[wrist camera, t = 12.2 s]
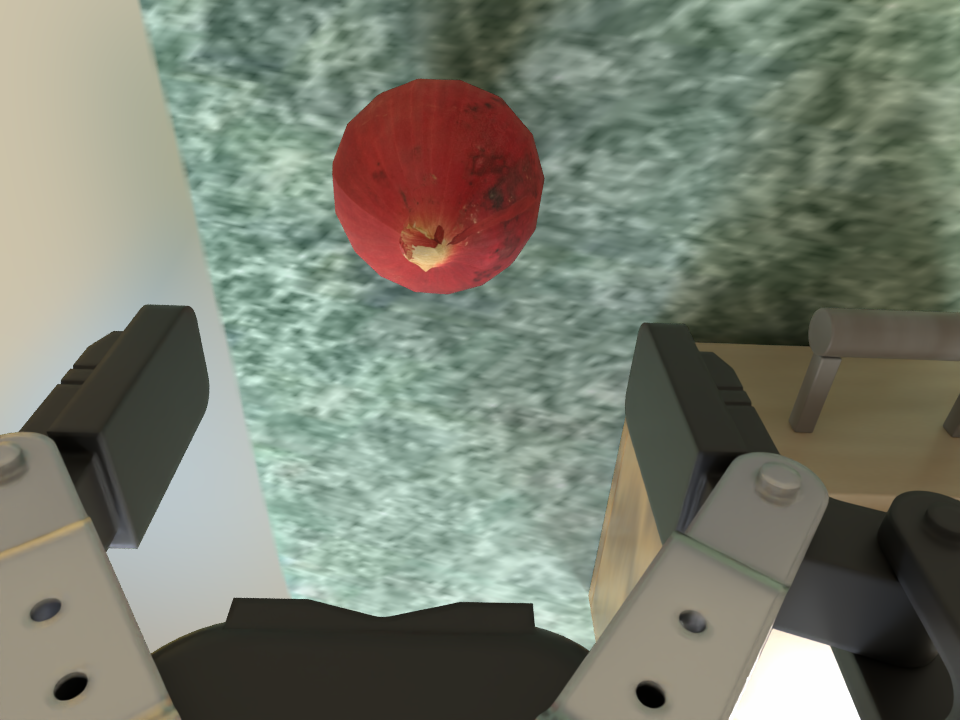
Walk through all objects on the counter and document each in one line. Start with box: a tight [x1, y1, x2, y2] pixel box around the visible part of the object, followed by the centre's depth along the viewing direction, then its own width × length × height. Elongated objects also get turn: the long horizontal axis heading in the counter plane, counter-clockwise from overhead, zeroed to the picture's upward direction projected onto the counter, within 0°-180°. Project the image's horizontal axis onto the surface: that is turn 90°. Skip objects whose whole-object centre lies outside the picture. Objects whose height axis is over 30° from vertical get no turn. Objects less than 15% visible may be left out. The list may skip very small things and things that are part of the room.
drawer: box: [695, 307, 960, 512], centre depth 26 cm, size 18×11×8 cm, turn 177°
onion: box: [332, 79, 544, 294], centre depth 20 cm, size 6×6×8 cm
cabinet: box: [588, 417, 860, 720], centre depth 28 cm, size 15×13×10 cm
